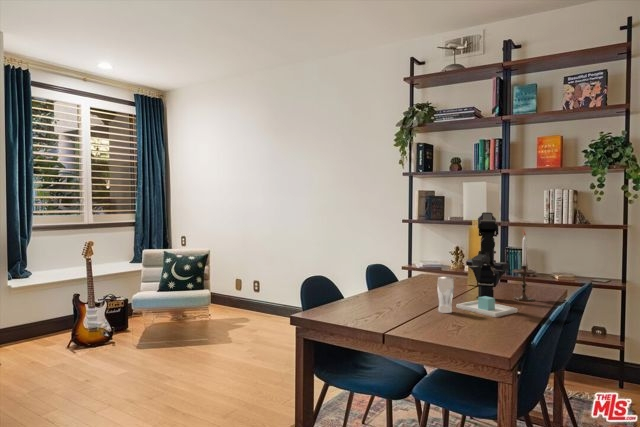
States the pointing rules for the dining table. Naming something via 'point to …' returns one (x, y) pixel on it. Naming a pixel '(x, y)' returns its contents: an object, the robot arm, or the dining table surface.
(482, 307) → the block
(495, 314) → the tray
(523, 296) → the candlestick
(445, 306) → the beer glass
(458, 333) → the dining table surface
